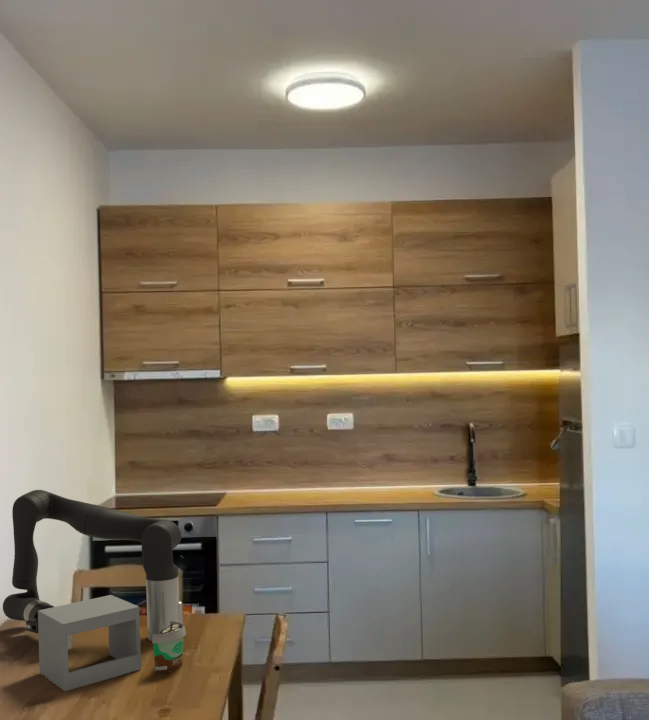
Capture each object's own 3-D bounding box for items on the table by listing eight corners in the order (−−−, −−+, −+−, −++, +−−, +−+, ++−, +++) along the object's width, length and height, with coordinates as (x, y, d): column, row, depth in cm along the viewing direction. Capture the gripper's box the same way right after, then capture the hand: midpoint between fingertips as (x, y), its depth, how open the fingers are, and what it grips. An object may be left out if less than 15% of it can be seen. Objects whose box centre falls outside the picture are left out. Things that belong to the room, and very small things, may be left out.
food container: (176, 676, 194) (174, 635, 194) (153, 675, 195) (151, 635, 196) (194, 658, 206) (192, 620, 207) (172, 658, 207) (171, 620, 208)
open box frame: (112, 653, 213) (110, 594, 213) (141, 669, 200) (139, 606, 200) (39, 673, 200) (37, 610, 200) (64, 691, 187) (63, 624, 187)
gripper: (15, 607, 222) (36, 620, 209) (64, 597, 231) (88, 608, 218) (16, 634, 222) (37, 648, 209) (65, 622, 231) (88, 635, 218)
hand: (63, 628), depth 214 cm, fingers closed on cream block, 5 cm apart
